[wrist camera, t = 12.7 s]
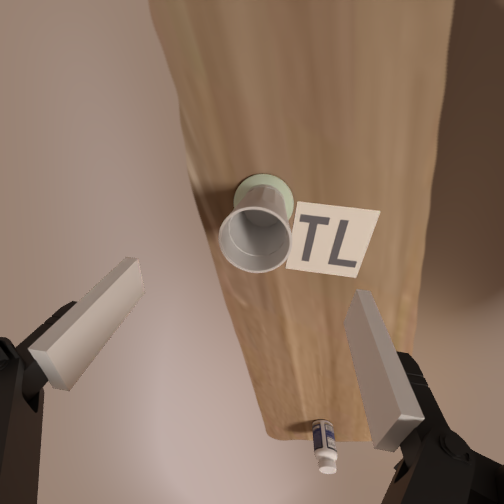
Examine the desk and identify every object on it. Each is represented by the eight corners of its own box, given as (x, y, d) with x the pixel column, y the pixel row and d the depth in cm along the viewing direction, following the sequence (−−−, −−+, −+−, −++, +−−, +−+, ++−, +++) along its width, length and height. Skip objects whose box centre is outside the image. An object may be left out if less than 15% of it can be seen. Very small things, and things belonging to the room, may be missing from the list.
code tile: (297, 200, 36) (297, 201, 36) (379, 210, 36) (380, 211, 35) (285, 266, 42) (285, 268, 42) (355, 276, 42) (356, 278, 41)
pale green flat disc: (235, 170, 35) (234, 171, 34) (298, 177, 34) (298, 178, 34) (233, 227, 39) (232, 228, 39) (288, 234, 39) (288, 235, 38)
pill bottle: (312, 429, 67) (316, 474, 59) (311, 418, 65) (314, 464, 56) (333, 429, 66) (340, 476, 57) (332, 419, 63) (339, 466, 55)
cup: (269, 238, 39) (262, 284, 29) (227, 209, 37) (205, 247, 27) (302, 200, 35) (308, 237, 25) (258, 166, 34) (245, 190, 23)
